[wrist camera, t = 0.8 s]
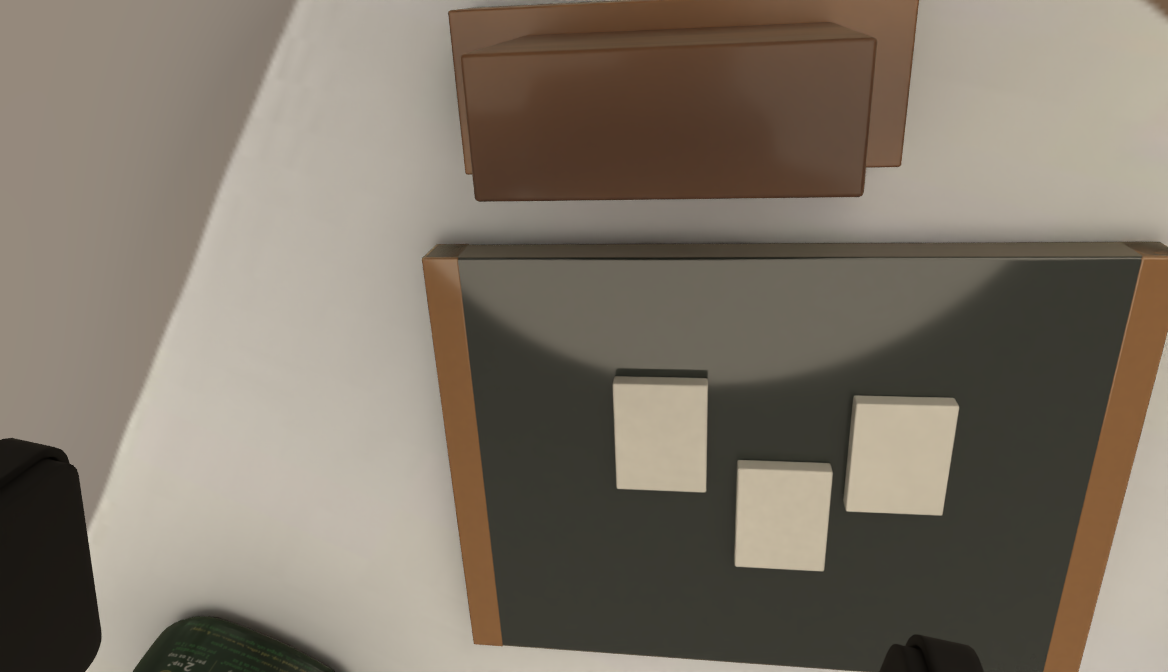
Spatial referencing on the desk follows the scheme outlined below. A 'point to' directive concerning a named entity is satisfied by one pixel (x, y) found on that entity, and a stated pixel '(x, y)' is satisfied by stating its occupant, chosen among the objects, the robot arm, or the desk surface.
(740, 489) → the beige block
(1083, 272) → the slate board
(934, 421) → the cream square block
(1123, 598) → the desk surface
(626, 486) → the cream rectangular block
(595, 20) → the brown stepped wooden block
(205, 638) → the coffee jar
